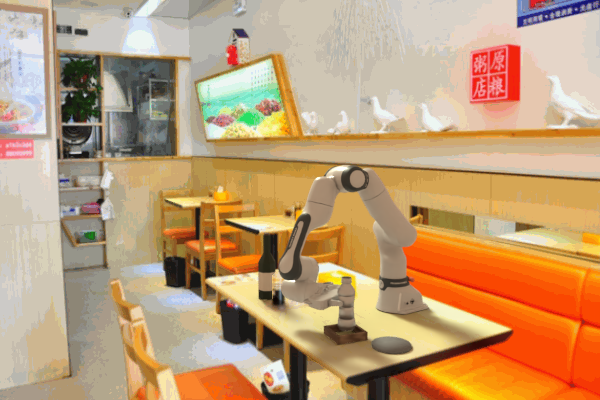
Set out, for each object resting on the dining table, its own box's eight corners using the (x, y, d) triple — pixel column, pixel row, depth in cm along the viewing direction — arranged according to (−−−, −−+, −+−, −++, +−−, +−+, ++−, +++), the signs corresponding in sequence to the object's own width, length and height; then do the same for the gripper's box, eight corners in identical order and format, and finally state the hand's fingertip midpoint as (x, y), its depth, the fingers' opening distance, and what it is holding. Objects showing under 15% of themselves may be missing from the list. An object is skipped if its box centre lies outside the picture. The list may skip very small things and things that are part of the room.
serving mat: (397, 336, 198) (397, 334, 198) (419, 350, 186) (419, 348, 185) (364, 341, 193) (364, 339, 193) (384, 356, 180) (384, 354, 180)
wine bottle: (261, 301, 241) (261, 235, 237) (255, 296, 248) (254, 232, 245) (278, 298, 244) (278, 233, 241) (272, 293, 252) (272, 230, 248)
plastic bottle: (354, 334, 194) (355, 280, 192) (336, 332, 196) (336, 279, 193) (356, 327, 201) (356, 275, 198) (338, 326, 202) (338, 274, 199)
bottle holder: (352, 329, 206) (352, 321, 205) (367, 340, 195) (367, 332, 194) (323, 333, 201) (323, 325, 201) (337, 344, 190) (337, 336, 190)
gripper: (300, 293, 196) (332, 300, 187) (332, 280, 212) (362, 286, 204) (301, 310, 197) (332, 317, 188) (332, 296, 213) (362, 302, 204)
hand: (348, 301), depth 196 cm, fingers closed on plastic bottle, 6 cm apart
